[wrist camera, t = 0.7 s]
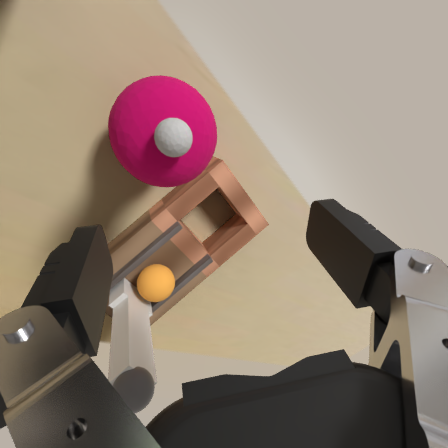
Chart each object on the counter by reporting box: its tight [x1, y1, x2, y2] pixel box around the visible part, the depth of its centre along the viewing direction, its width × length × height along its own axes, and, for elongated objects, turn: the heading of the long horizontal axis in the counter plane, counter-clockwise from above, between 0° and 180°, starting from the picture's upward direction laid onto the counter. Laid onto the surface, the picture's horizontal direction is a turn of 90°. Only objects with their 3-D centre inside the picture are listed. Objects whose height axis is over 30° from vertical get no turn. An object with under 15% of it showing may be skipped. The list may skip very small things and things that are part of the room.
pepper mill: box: [108, 76, 217, 187], centre depth 21 cm, size 7×7×20 cm
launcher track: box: [105, 156, 269, 326], centre depth 33 cm, size 10×21×5 cm, turn 127°
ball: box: [137, 264, 175, 302], centre depth 30 cm, size 4×4×4 cm
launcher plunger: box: [108, 278, 157, 413], centre depth 25 cm, size 4×3×14 cm
